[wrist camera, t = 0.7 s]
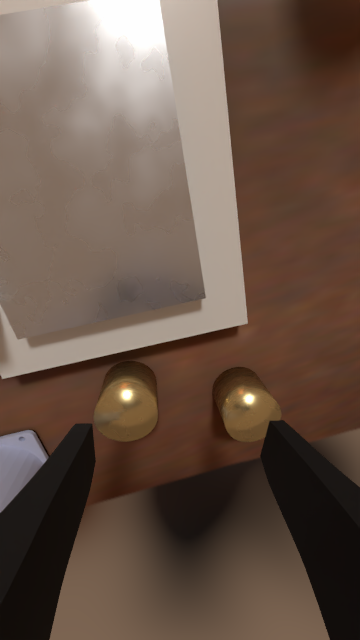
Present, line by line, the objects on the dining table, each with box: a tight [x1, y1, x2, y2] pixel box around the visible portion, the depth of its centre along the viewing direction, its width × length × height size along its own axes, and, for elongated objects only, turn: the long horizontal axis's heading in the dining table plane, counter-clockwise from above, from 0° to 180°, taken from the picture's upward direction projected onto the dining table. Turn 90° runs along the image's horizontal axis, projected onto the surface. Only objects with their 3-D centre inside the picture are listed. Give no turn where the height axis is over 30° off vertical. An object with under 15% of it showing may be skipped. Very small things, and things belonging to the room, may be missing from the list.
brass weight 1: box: [94, 361, 158, 441], centre depth 19 cm, size 4×4×4 cm
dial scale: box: [0, 0, 248, 379], centre depth 13 cm, size 18×20×6 cm
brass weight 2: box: [213, 367, 281, 442], centre depth 20 cm, size 4×4×4 cm
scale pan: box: [0, 0, 206, 340], centre depth 13 cm, size 12×14×1 cm
